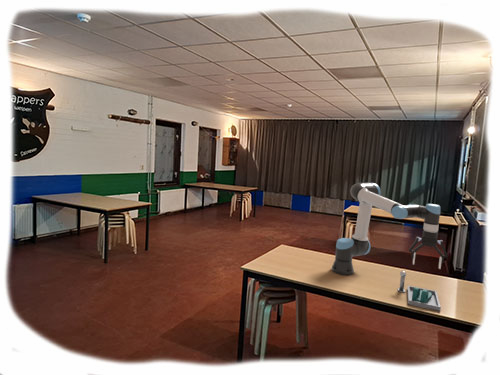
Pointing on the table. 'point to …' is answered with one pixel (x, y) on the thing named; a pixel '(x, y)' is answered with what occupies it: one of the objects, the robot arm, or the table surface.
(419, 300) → the bracket
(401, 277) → the ball stud
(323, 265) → the table surface
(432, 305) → the bin
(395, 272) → the table surface
